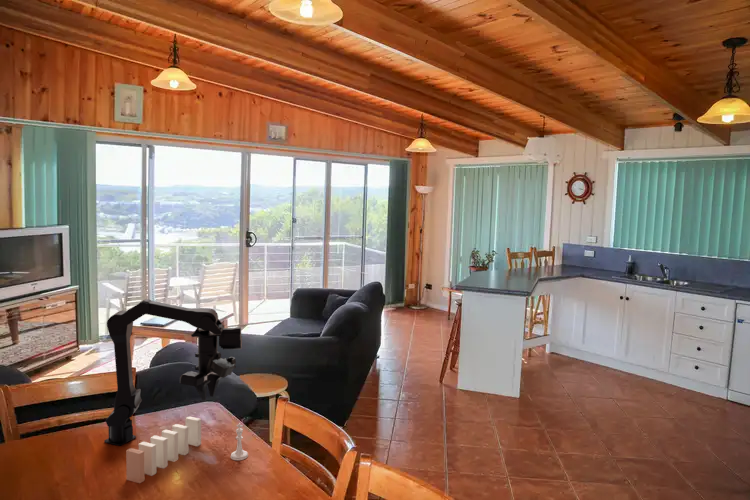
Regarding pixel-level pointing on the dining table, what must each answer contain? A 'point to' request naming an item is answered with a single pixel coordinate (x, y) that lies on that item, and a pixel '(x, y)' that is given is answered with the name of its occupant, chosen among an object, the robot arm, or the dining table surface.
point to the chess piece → (239, 446)
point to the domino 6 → (193, 430)
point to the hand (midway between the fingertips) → (207, 398)
